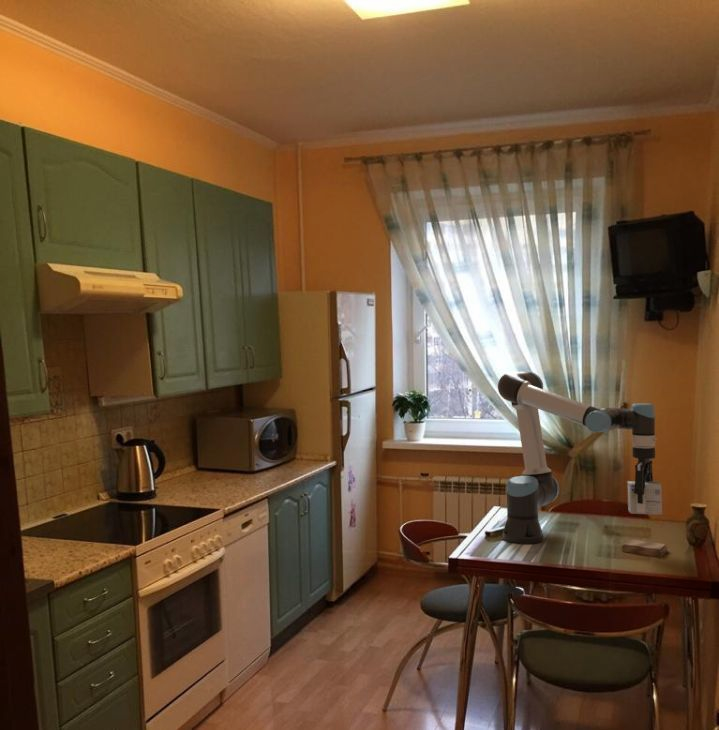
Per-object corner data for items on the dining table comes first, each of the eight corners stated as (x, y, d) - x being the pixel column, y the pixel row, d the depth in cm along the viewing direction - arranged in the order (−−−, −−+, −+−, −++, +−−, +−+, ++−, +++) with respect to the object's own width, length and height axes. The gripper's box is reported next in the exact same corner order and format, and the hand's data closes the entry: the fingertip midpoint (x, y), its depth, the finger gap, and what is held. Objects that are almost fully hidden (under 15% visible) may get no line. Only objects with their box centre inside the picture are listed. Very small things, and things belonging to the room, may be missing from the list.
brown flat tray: (622, 551, 237) (622, 544, 237) (629, 545, 244) (629, 538, 244) (661, 557, 229) (661, 550, 229) (667, 551, 236) (667, 544, 236)
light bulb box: (658, 511, 238) (658, 481, 238) (662, 515, 232) (662, 484, 232) (627, 510, 241) (626, 480, 241) (630, 514, 234) (630, 483, 234)
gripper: (647, 450, 225) (647, 517, 226) (662, 444, 243) (662, 505, 243) (624, 449, 230) (624, 514, 230) (640, 442, 247) (641, 503, 247)
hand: (644, 509), depth 236 cm, fingers closed on light bulb box, 9 cm apart
